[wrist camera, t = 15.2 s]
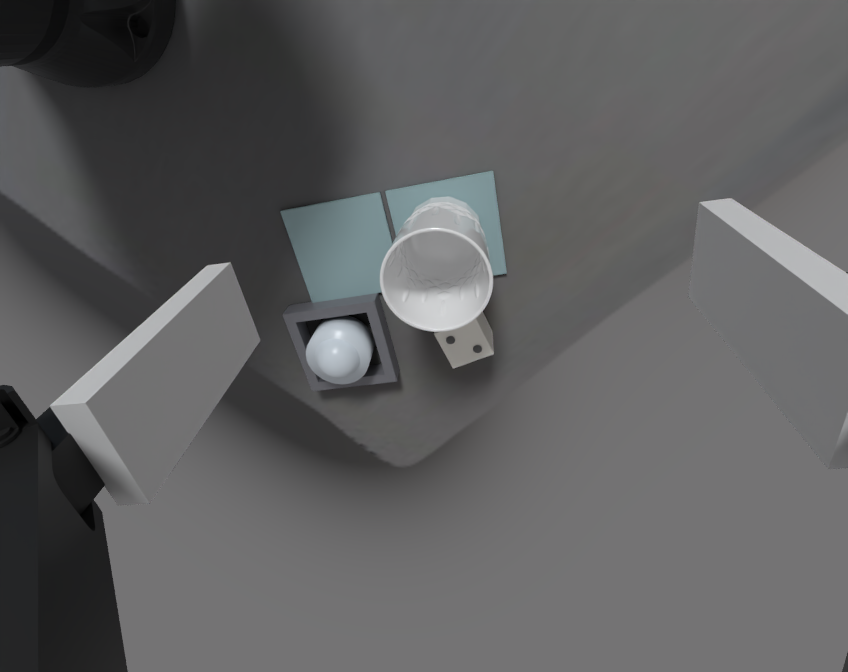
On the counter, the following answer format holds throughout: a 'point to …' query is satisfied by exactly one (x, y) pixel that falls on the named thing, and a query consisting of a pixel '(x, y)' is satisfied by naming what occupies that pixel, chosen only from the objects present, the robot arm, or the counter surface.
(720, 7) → the counter surface
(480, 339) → the die
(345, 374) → the dome
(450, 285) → the white cup
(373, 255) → the tile
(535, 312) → the counter surface
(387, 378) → the frame
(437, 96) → the counter surface
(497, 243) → the tile
